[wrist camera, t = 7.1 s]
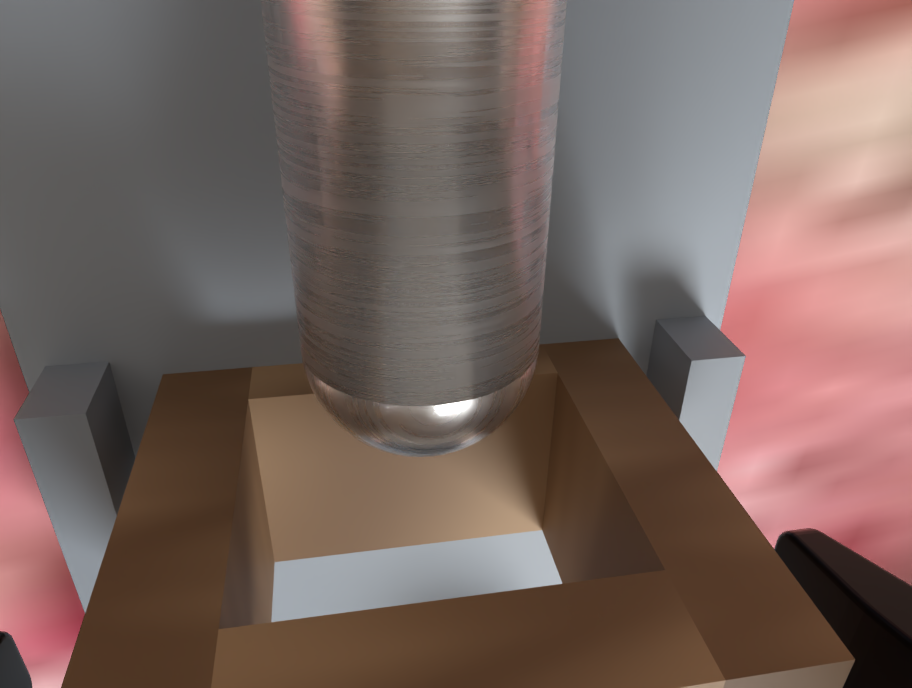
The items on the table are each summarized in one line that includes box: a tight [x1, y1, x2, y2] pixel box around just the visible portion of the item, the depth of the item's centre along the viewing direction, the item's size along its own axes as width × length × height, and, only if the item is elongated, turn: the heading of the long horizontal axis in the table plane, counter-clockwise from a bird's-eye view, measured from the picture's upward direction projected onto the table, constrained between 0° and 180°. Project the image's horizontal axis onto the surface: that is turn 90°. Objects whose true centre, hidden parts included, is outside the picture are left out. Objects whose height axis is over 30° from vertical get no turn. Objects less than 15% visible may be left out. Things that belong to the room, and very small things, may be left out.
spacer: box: [61, 338, 855, 688], centre depth 9 cm, size 7×3×6 cm, turn 89°
